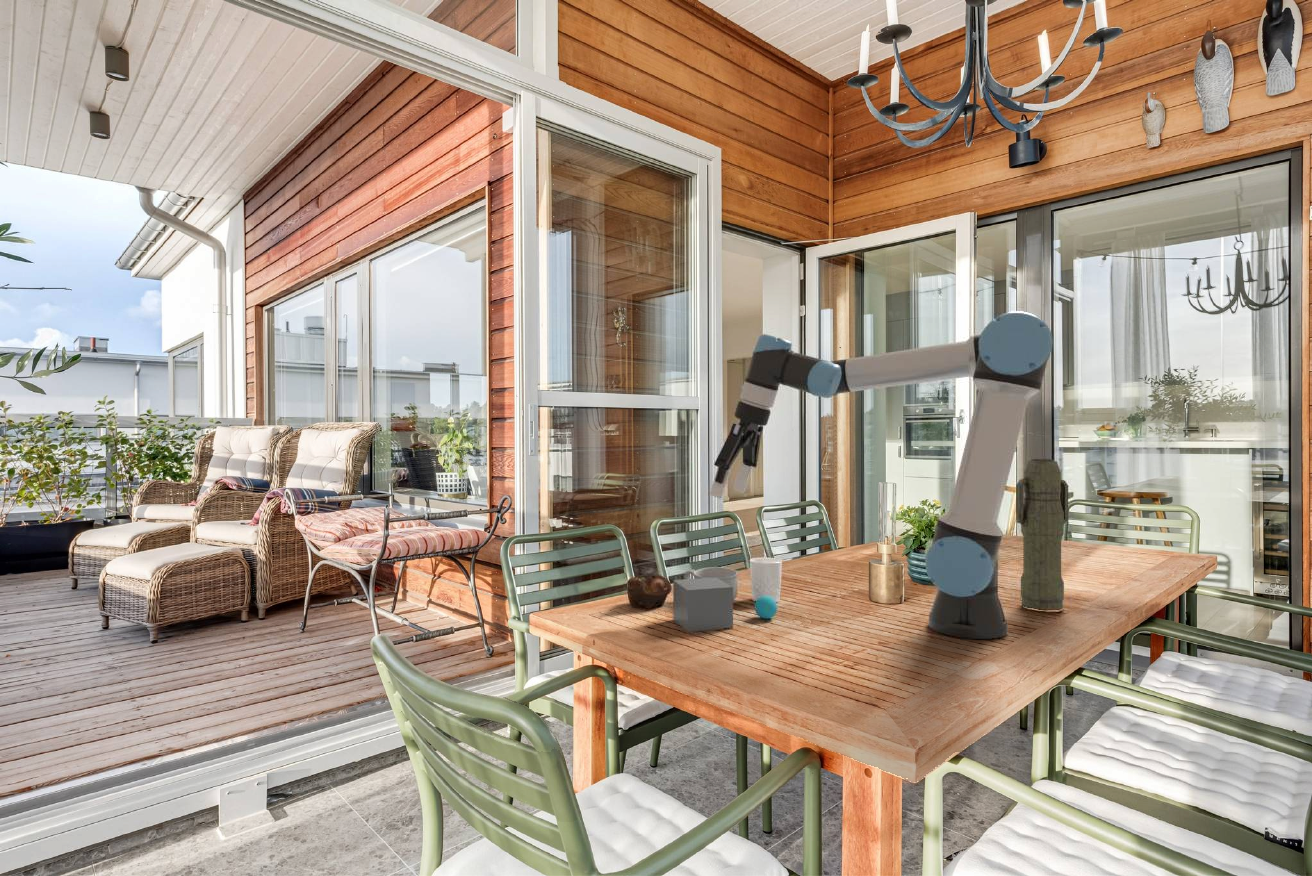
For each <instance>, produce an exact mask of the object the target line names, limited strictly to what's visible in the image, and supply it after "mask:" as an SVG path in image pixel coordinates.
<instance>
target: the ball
mask: <svg viewBox="0 0 1312 876" xmlns="http://www.w3.org/2000/svg"><path fill="white" fill-rule="evenodd" d="M754 610H755V611H754V612H755V613H756V615H757V616H758V617H760V618H761V619H763V620H764V619H765V620H768V619H771V618H773V617H774V616H775V615H776V614H777V611H778V604H777V603H776V602H775V600H774V599H773V598H771V597H769V596H762V597H760V598H759V599H758V600H757V601H756V602H754Z"/></svg>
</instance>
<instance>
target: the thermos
mask: <svg viewBox="0 0 1312 876" xmlns="http://www.w3.org/2000/svg"><path fill="white" fill-rule="evenodd" d="M1023 471H1024V472H1023V477H1022V478H1021V479H1019V480H1018V481H1017V483H1016V485H1015V489H1016V490H1015V491H1016V493H1015V496H1016V498H1015V503H1016V504H1015V507H1016V508H1015V509H1016V511H1015V515H1016V523H1017V524H1020V525H1021V526H1020V532H1021V535H1022V536H1023V537H1022V538H1023V539H1022V540H1023V541H1022V544H1023V547H1022V548H1023V549H1022V550H1023V551H1022V554H1023V555H1022V556H1023V557H1022V559H1023V560H1022V561H1023V563H1022V564H1023V567H1022V569H1023V571H1022V573H1021V577H1020V598H1021V604H1022V605H1023V606H1024V607H1027V608H1034V609H1038V610H1060V609H1062V608H1063V609H1064V606H1063V605H1064V602H1063V601H1064V600H1065V582H1064V580H1063V576H1062V538H1063V536H1064V533H1065V531H1064V530H1065V529H1064V526H1065V524H1066V523H1067V522H1068V521H1069V485H1068V483H1067V481H1066V480H1064V479H1062V478H1061V477H1062V475H1061V474H1062V473H1061V469H1060V466H1059V464H1058V461H1057V460H1056V461H1055V460H1054V459H1051V458H1031V459H1030V460H1027V462H1026V465H1025V468H1024V470H1023Z"/></svg>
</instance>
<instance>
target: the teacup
mask: <svg viewBox="0 0 1312 876" xmlns="http://www.w3.org/2000/svg"><path fill="white" fill-rule="evenodd" d="M690 575H692V576H693V579H700V578H715V577H716V578H718V579H720V580H722V581H723V582H725V583H727V584H729V585H730V586H732V587H733V601H735V599H736V598H737V596H738V587H739V585H738V582H739V580H738V578H739V577H738V575H739V572H738V571H737V570H736V569H733V568H730V567H723V566H721V567H719V566H712V567H709V566H708V567H703V568H699V569H696V570H695V569H688V570H686V571H685V573H684V575H683V580H685V579H690Z"/></svg>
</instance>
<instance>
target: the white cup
mask: <svg viewBox="0 0 1312 876" xmlns="http://www.w3.org/2000/svg"><path fill="white" fill-rule="evenodd" d="M749 569H750V570H749V571H750V573H749V574H750V588H751V599H752V601H753V602H755V601H757V600H758V599H759V598H760V597H762V596H769V597H771V598H773V599H774V600H775V602H777V603H779V602H780V600H781V589H782V588H781V587H782V575H783V574H782V569H783V560H782V559H779V558H776V557H764V556H763V557H762V556H761V557H753V558H750V559H749Z"/></svg>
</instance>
